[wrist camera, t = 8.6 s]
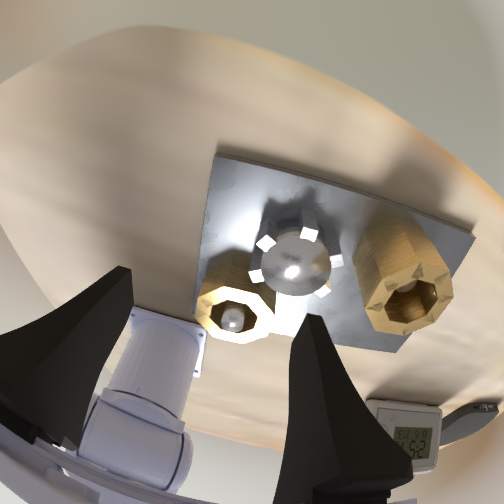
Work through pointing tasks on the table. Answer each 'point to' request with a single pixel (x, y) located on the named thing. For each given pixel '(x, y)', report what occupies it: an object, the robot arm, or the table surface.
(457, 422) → the media streaming box
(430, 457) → the digital clock
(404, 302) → the brass octagonal sleeve
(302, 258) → the plate
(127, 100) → the table surface
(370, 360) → the table surface
